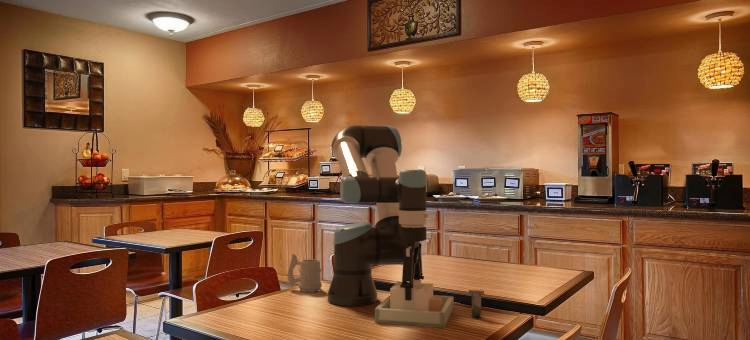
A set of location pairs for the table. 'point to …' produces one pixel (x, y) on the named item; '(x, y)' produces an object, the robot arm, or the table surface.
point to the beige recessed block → (416, 297)
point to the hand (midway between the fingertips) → (412, 307)
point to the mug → (306, 274)
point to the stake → (476, 303)
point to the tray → (415, 314)
